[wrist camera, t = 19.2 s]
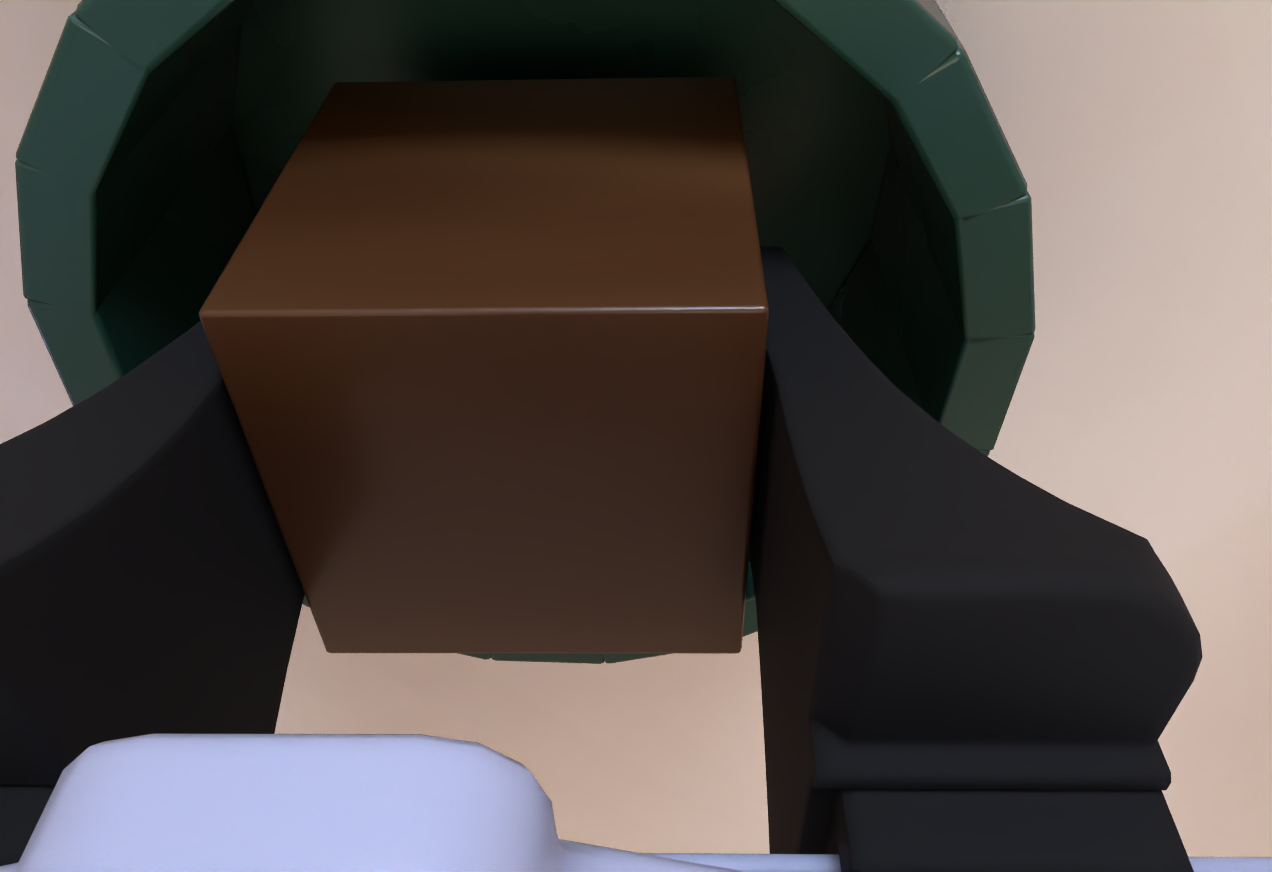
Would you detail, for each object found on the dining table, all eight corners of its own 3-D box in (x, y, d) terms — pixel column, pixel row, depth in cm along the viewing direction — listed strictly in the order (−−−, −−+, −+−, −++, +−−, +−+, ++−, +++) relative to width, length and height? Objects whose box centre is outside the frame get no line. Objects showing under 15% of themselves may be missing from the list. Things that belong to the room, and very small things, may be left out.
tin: (961, 367, 19) (1044, 597, 15) (392, 484, 21) (329, 710, 17) (887, -421, 11) (1016, -396, 7) (18, -105, 14) (-252, 48, 9)
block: (721, 389, 16) (741, 655, 12) (403, 390, 16) (326, 654, 12) (736, 74, 12) (771, 309, 9) (333, 80, 12) (194, 313, 9)
